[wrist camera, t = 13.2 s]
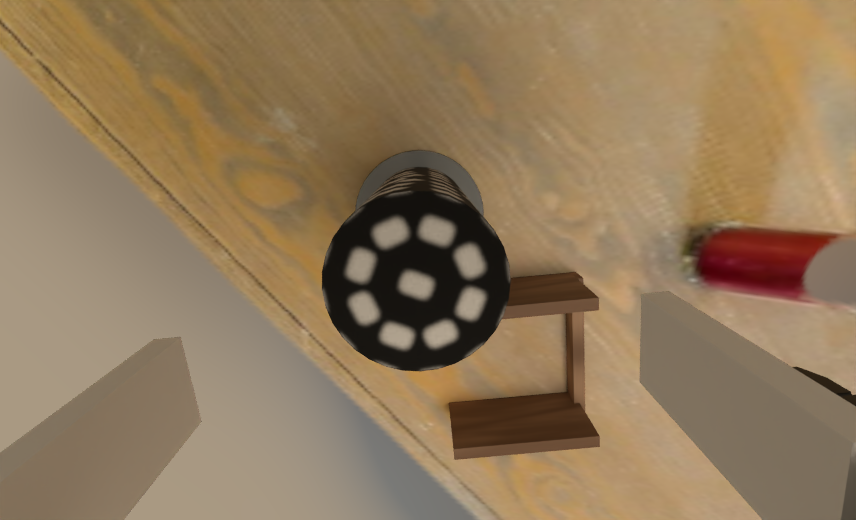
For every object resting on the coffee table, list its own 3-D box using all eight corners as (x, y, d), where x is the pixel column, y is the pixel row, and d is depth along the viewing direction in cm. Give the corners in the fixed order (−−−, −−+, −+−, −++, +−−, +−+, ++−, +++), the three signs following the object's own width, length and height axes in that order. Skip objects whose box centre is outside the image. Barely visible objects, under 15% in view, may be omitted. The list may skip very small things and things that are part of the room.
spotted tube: (358, 244, 40) (298, 337, 21) (389, 152, 38) (355, 161, 19) (447, 275, 41) (469, 394, 22) (482, 187, 39) (540, 229, 20)
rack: (437, 285, 42) (440, 312, 35) (575, 271, 42) (605, 297, 35) (449, 412, 45) (454, 459, 38) (578, 400, 45) (605, 446, 38)
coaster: (348, 157, 39) (347, 157, 39) (478, 144, 39) (478, 144, 38) (365, 281, 42) (364, 283, 41) (486, 269, 42) (487, 271, 41)
